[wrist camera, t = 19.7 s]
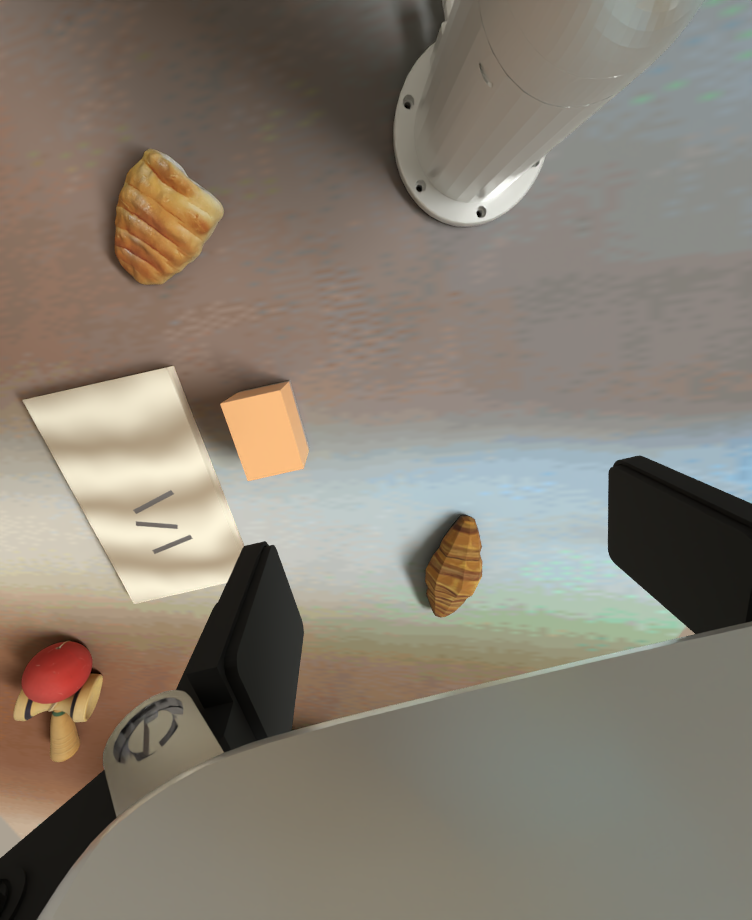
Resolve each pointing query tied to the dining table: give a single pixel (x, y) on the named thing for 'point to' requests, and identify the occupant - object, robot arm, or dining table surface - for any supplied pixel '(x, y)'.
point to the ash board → (143, 481)
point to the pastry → (162, 219)
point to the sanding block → (267, 430)
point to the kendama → (60, 693)
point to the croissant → (454, 567)
